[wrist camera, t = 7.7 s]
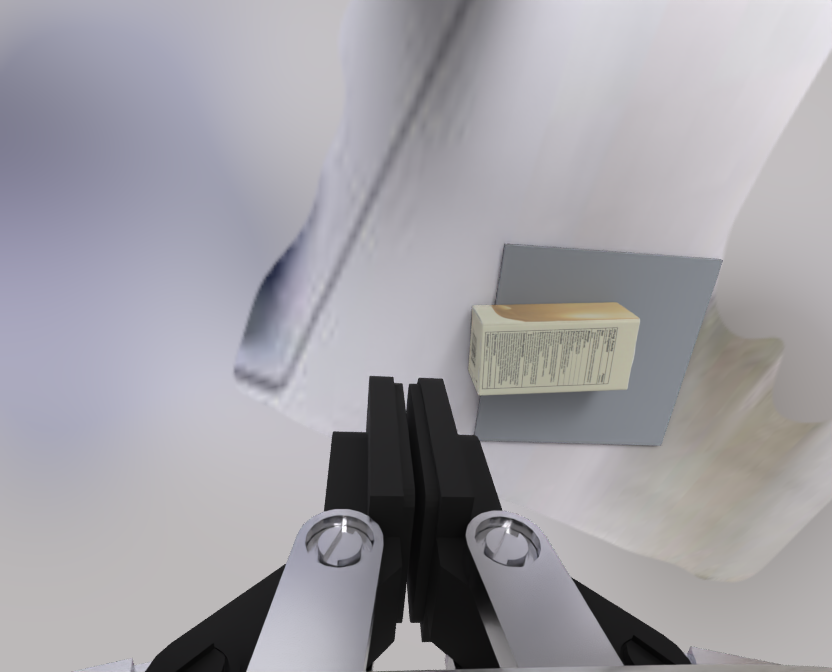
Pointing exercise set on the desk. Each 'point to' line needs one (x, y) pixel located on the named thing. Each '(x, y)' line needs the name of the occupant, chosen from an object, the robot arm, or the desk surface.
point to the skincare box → (551, 347)
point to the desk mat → (654, 352)
